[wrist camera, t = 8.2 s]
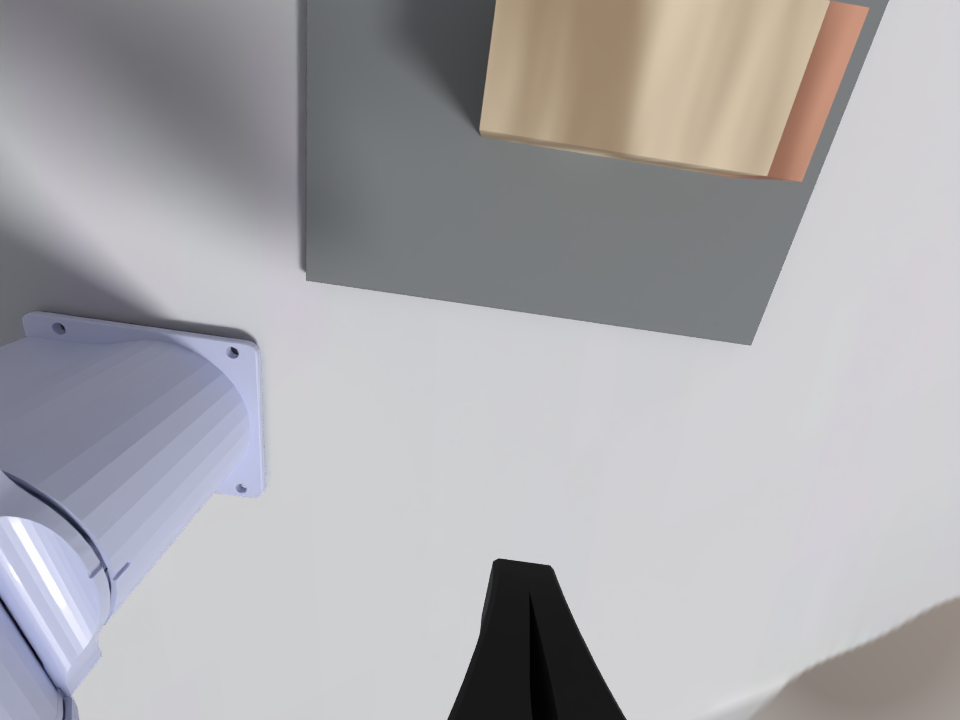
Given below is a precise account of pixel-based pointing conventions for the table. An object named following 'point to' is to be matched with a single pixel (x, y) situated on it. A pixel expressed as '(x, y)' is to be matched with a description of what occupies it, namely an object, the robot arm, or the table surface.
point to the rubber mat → (521, 189)
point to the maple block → (671, 80)
